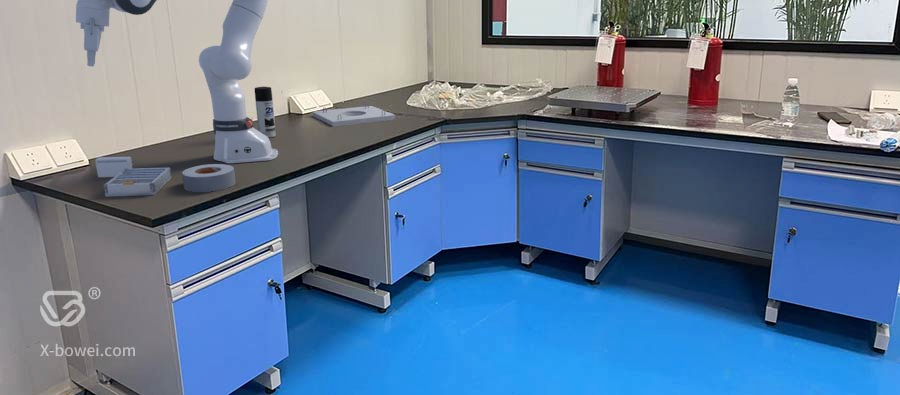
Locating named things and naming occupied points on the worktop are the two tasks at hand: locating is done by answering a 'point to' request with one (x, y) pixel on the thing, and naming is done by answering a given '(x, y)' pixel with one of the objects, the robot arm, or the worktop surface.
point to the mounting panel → (353, 115)
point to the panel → (112, 165)
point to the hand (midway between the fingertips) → (91, 65)
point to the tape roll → (208, 178)
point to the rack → (137, 182)
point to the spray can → (265, 111)
